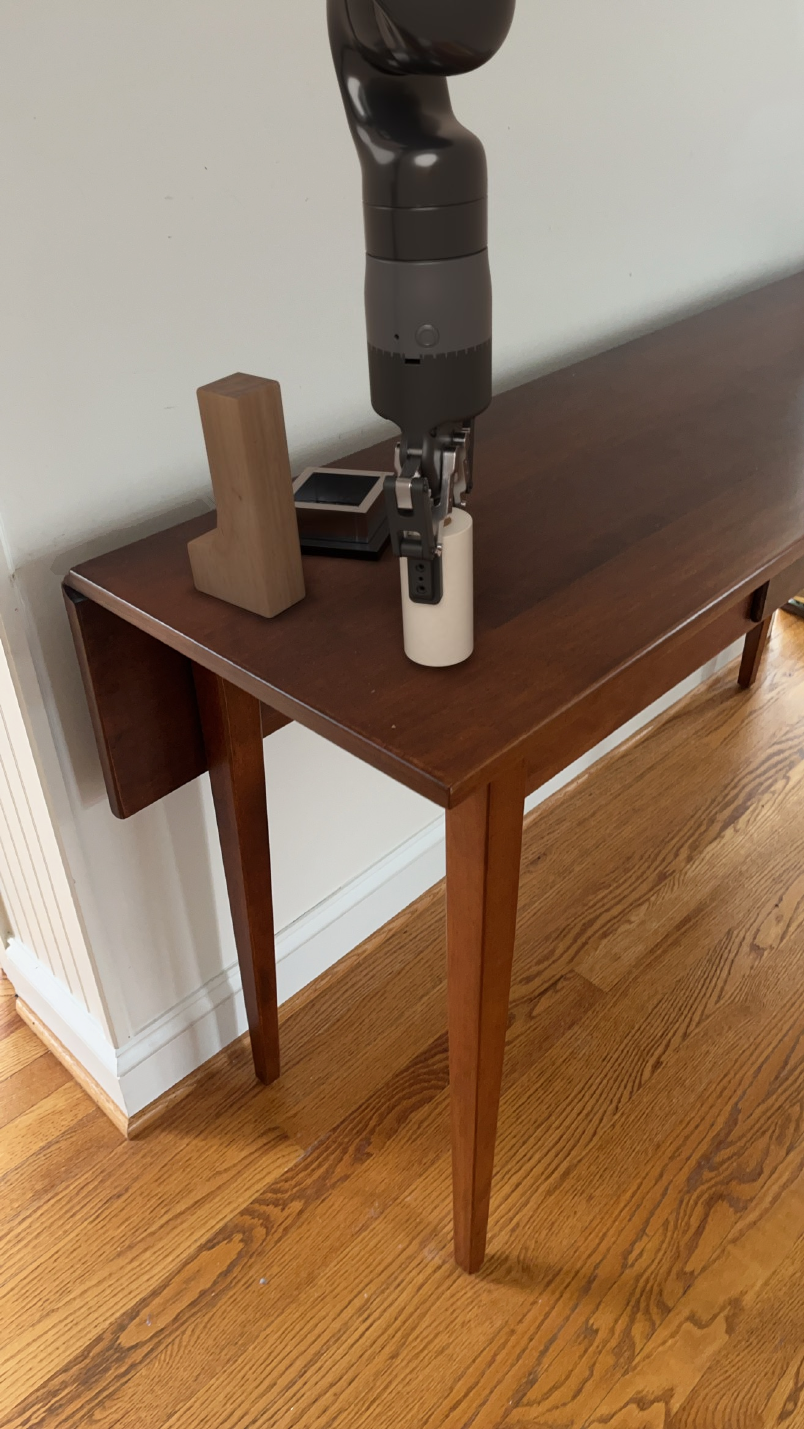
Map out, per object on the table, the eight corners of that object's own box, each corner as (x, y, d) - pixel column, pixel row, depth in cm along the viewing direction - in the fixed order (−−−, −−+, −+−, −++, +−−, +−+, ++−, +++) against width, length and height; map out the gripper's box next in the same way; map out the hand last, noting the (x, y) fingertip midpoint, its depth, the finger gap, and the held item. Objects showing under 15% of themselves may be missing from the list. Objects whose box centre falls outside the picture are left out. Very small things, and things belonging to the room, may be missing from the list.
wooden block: (193, 590, 86) (151, 377, 76) (232, 569, 89) (197, 360, 78) (270, 621, 81) (236, 398, 71) (308, 597, 84) (281, 379, 74)
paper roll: (395, 662, 73) (388, 533, 67) (415, 626, 77) (409, 502, 71) (464, 670, 72) (462, 540, 66) (480, 634, 75) (480, 507, 70)
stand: (261, 550, 92) (254, 509, 89) (304, 499, 100) (300, 460, 98) (378, 561, 89) (374, 519, 86) (412, 507, 97) (410, 467, 95)
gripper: (402, 296, 67) (413, 532, 77) (329, 364, 56) (352, 628, 66) (514, 299, 66) (510, 540, 75) (461, 370, 54) (465, 641, 64)
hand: (436, 580), depth 71 cm, fingers closed on paper roll, 5 cm apart
